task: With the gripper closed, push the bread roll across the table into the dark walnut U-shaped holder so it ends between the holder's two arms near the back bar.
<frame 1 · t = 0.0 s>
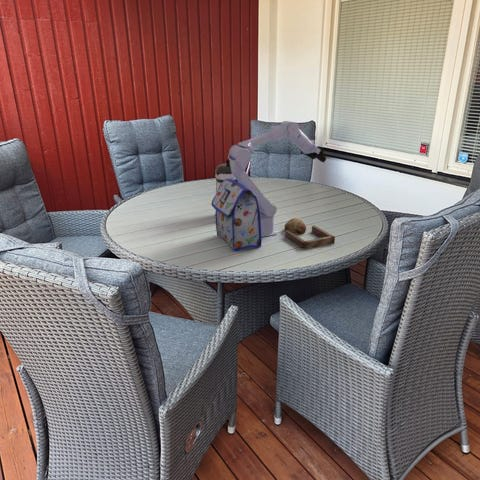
hand: (319, 159, 184), 32 cm above the table, tool tilted 50°, fingers open, 7 cm apart
bread roll: (294, 231, 189), on the table
coffee press: (230, 216, 210), on the table
lunch bag: (236, 241, 178), on the table
roll holder: (309, 239, 179), on the table
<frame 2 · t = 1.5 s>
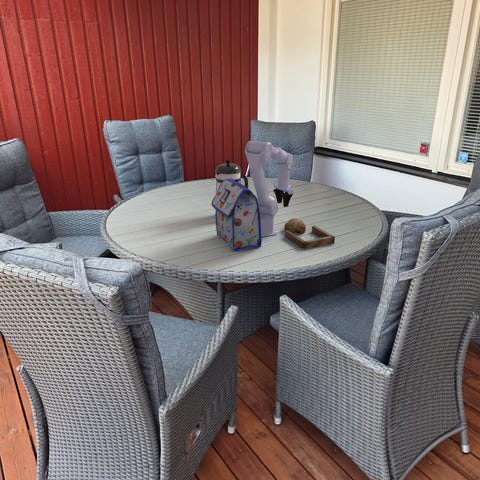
hand: (282, 204, 196), 9 cm above the table, tool pointing down, fingers open, 6 cm apart
nothing on the table moved.
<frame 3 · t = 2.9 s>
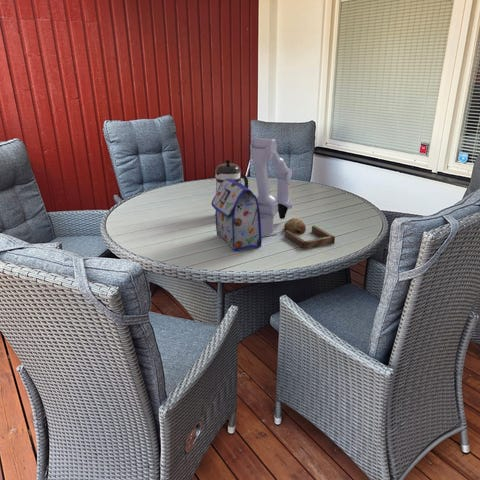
hand: (282, 218, 198), 2 cm above the table, tool pointing down, fingers closed
nothing on the table moved.
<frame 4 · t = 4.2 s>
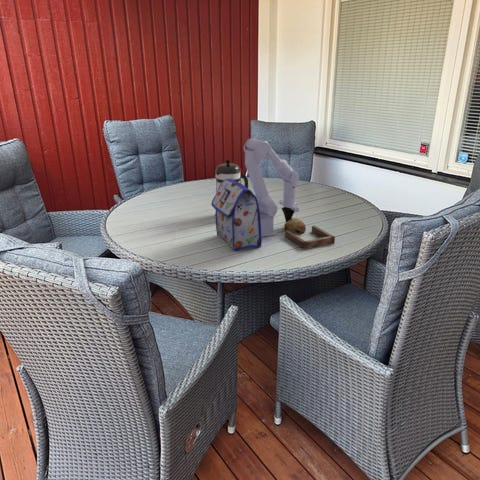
hand: (288, 222, 193), 2 cm above the table, tool pointing down, fingers closed
bread roll: (294, 231, 189), on the table, touching gripper
everything else where it was.
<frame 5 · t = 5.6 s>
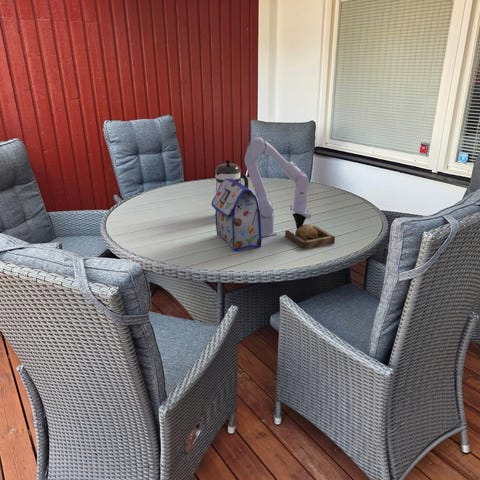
hand: (299, 228, 185), 2 cm above the table, tool pointing down, fingers closed
bread roll: (305, 238, 181), on the table, touching gripper
everything else where it was.
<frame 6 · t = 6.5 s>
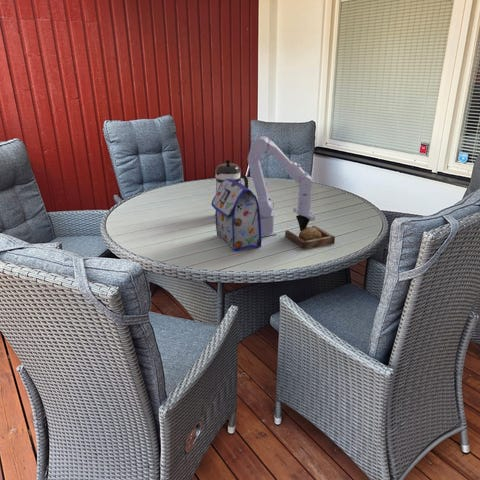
hand: (302, 230, 182), 2 cm above the table, tool pointing down, fingers closed
bread roll: (309, 240, 178), on the table, touching gripper
everything else where it was.
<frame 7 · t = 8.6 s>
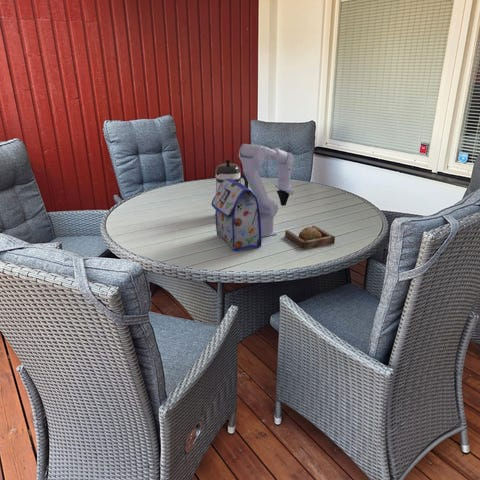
hand: (283, 205, 193), 10 cm above the table, tool pointing down, fingers closed
bread roll: (309, 240, 178), on the table
everything else where it was.
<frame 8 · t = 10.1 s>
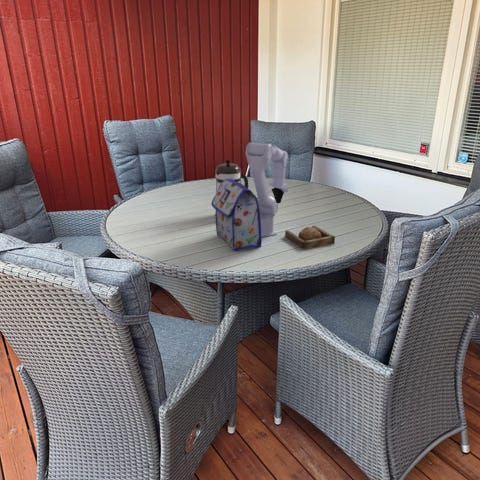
hand: (278, 202, 195), 10 cm above the table, tool pointing down, fingers closed
nothing on the table moved.
at the end: bread roll inside the target area (0.1 cm from its centre), on the table; bread roll moved 12.5 cm from its start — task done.
